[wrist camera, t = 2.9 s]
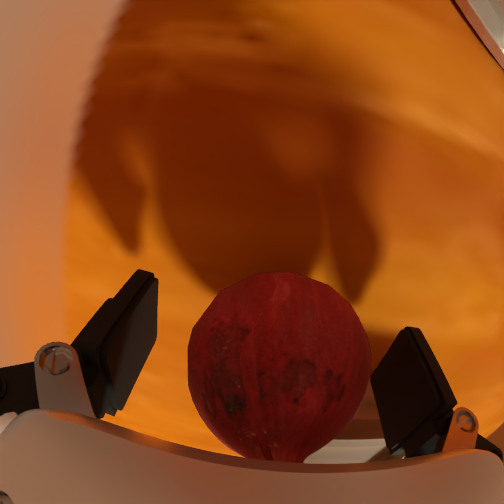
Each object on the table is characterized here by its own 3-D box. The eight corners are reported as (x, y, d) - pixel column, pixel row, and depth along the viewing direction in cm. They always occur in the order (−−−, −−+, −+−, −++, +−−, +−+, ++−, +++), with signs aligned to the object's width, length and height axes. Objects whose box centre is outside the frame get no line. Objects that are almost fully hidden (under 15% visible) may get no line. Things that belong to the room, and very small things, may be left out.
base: (286, 367, 14) (286, 436, 10) (421, 379, 14) (442, 431, 10) (250, 439, 17) (245, 487, 14) (358, 446, 18) (363, 488, 14)
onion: (185, 276, 12) (99, 443, 4) (309, 208, 10) (370, 397, 3) (256, 362, 14) (240, 512, 6) (364, 318, 12) (412, 480, 5)
